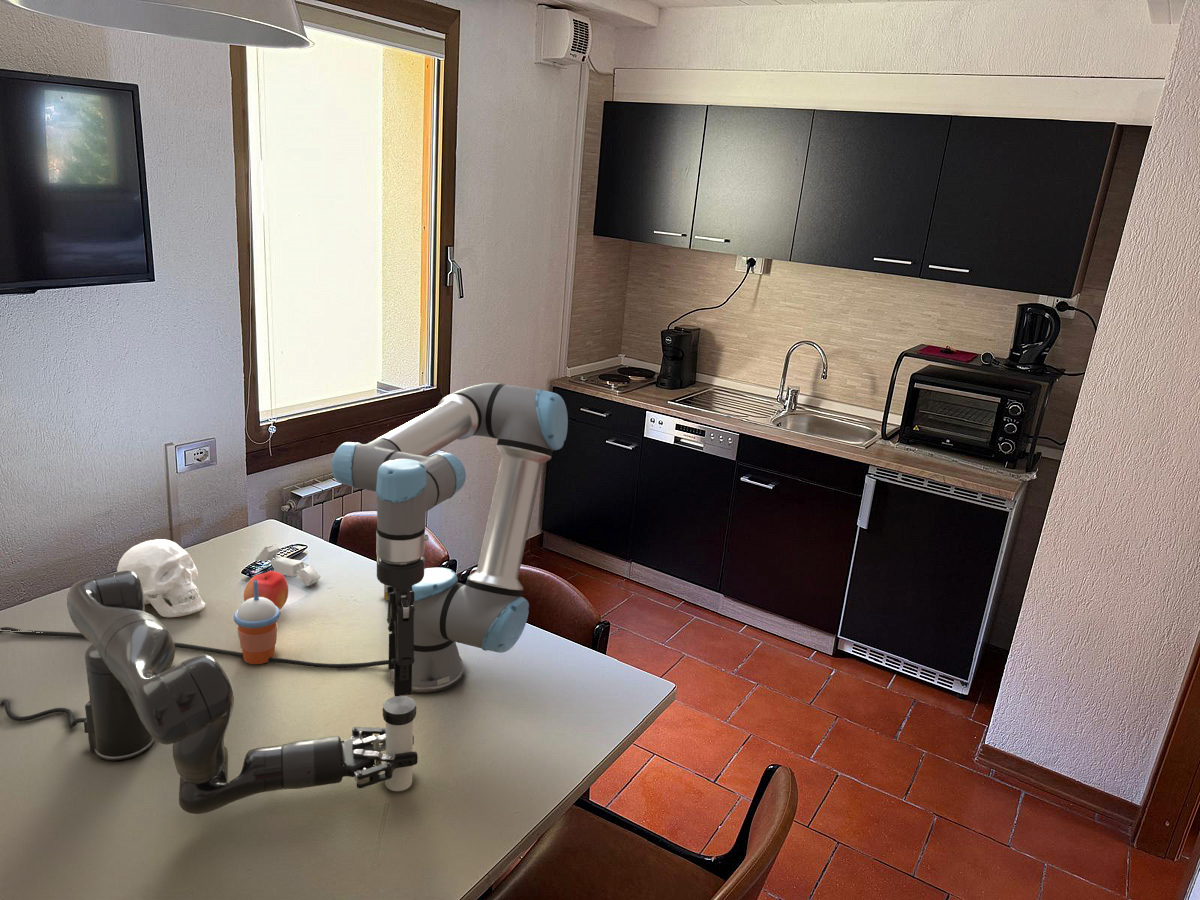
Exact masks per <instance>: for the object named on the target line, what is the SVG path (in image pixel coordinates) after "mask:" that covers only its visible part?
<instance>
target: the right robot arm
mask: <svg viewBox="0 0 1200 900" xmlns="http://www.w3.org/2000/svg"><path fill="white" fill-rule="evenodd" d="M568 422H569V417H568V409H567V405H566V403H565V401H564V399H563V397H562V396H561V395H560V394H558V393H556V392H553V391H548V390H545V389H541V388H533V387H525V386H518V385H512V384H505V383H502V382H501V383H500V382H485V383H479V384H475V385H471V386H467V387H464V388H461V389H459V390H456V391H454V392H452V393H450V394H448V395H446V396H444V397H442V399H440V401H439V402H438V404H437V406H436V407H434V408H432V409H430V410H428V411H426V412H425V413H424V412H423V414H420V415H419V416H416V417H415V418H413V419H411V420H409V421H408V422H405V423H404V424H402V425H400V426H398V427H396V428H394V429H392V430H390V431H388V432H387V433H384V434H383V435H381V436H379V437H376V439H374V440H372V441H369V442H368V443H361V442H360V441H359V442H358V441H357V442H356V441H355V442H352V441H346V442H343V443H341V444H340V445H339V446H338V447H337V448H336V450H335V451H334V453H333V455H332V456H333V457H332V460H331V467H332V468H331V473H332V476H333V478H334V480H335V481H336V482H337V483H339V484H341V485H344V486H348V487H352V488H353V489H361V490H366V491H371V492H375V495H376V516H377V517H376V522H377V523H376V525H377V526H376V531H375V532H376V533H375V535H376V536H375V538H376V541H375V543H376V544H375V545H376V546H375V548H376V549H375V550H376V552H375V553H376V579H377V581H378V582H379V583H380V584H383V586H384V585H387V595H388V600H387V618H386V622H387V624H388V627H387V630H388V632H389V633H388V659H383V660H376V661H368V662H354V663H353V662H352V663H323V662H312V661H304V660H296V659H288V658H282V657H275V656H274V657H270V658H269V659H268V662H272V663H279V664H285V665H295V666H302V667H309V668H319V669H356V668H357V669H359V668H370V667H371V668H372V667H377V666H385V665H387V666H388V670H389V679H390V681H391V682H392V683H393V695H394V697H395V696H410V695H413V694H412V693H416V694H430V693H431V694H432V693H438V692H441V691H445V690H447V689H450V688H451V687H453V686H455V685H456V684H457V683H458V682H459V681H460V680H461V679H462V676H463V672H464V664H463V660H462V657H461V656H460V653H459V649H458V646H457V643H458V644H462V645H467V646H470V647H473V648H478V649H481V650H482V651H485V652H486V651H490V652H494V653H499V654H503V653H506V652H509V651H510V650H511V649H512V648H513V647H514V646H515V645H516V644H517V642H518V641H519V639H520V637H521V635H522V634H523V631H524V629H525V627H526V625H527V621H528V617H529V612H530V611H529V609H530V604H529V601H528V600H527V599H526V598H525V597H523V592H524V586H523V585H522V584H521V581H520V580H519V575H520V571H521V565H522V561H523V557H524V552H525V547H526V544H527V543H526V542H527V539H528V533H529V529H530V524H531V520H532V514H533V511H534V505H535V500H536V496H537V493H538V492H537V491H538V486H539V482H540V477H541V474H542V468H543V465H544V464H546V463H547V462H548V461H550V460H551V459H552V457H553V456H552V455H553V452H554V451H557V450H560V449H562V448H563V447H564V444H565V442H566V439H567V435H568V429H569V428H568V425H569V423H568ZM473 436H475V437H485V438H492V439H495V440H497V442H496V445H495V446H496V449H497V450H498V452H499V453H500V456H501V458H500V462H499V467H498V472H497V475H496V476H497V477H496V480H495V485H494V490H493V494H492V498H491V503H490V508H489V512H488V518H487V522H486V527H485V530H484V535H483V541H482V544H481V549H480V554H479V557H478V563H477V568H476V570H475V571H474V572H472V573H470V574H469V575H468V576H467V579H466V582H465V583H461V582H458V580H459V579H458V575H457V573H456V572H455V571H454V570H453V569H450V568H448V567H447V568H446V567H427V568H426V567H425V566H426V557H425V553H426V551H425V550H426V547H425V546H426V545H425V544H426V543H425V542H427V541H429V538H430V537H429V535H428V534H426V516H427V515H426V514H427V512H428V511H430V510H432V509H433V508H435V507H436V506H438V505H440V504H441V503H443V502H445V501H447V500H449V499H451V498H453V496H454V495H455V494H457V493H458V492H459V491H460V490H461V489H462V488H463V487H464V485H465V482H466V478H467V475H466V468H465V466H464V463H463V462H462V461H461V460H460V458H459V457H458V456H456V455H455V454H453V453H450V452H440V453H437V452H438V451H440V450H442V449H443V448H445V447H446V446H448V445H450V444H451V443H453V442H455V441H456V440H458V441H459V440H461V441H462V440H467V439H469V438H471V437H473ZM377 556H378V558H377ZM0 629H1V630H11V631H18V630H19V631H20V630H21V629H19V628H16V627H10V626H3V627H0ZM31 631H32V632H12V633H14V634H18V635H23V636H43V637H44V636H45V637H67V638H83V639H87V638H86V637H85V636H84V635H82V634H81V633H80V632H74V631H73V632H72V631H71V632H69V631H50V630H31ZM33 631H34V632H33ZM3 632H7V633H8V632H9V633H11V632H10V631H0V634H1V633H3ZM36 632H40V633H36ZM41 632H43V633H41ZM174 642H175V641H174ZM175 648H180V649H186V650H193V651H201V652H206V653H213V654H218V655H219V654H220V655H225V656H232V657H239V658H243V652H242V651H241V652H240V651H234V650H228V649H220V648H215V647H209V646H203V645H202V646H201V645H195V644H189V643H183V642H175Z"/></svg>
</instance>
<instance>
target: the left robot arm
mask: <svg viewBox="0 0 1200 900" xmlns="http://www.w3.org/2000/svg"><path fill="white" fill-rule="evenodd" d="M66 607H67V611H68V615H69V617H70V619H71V621H72V623H73V625H74V627H75V628H76V629H77V631H78V633H81V634H82V635H84V636H85V637H86V638H85V639H86V640H88V641H89V642H90V644H89V645H88V647H87V648H86V650H85V653H84V662H85V670H86V678H87V686H88V687H87V688H88V696H89V701H88V702H87V703H85V704H84V710H85V717H79V718H74V713H73V712H72V709H69V708H67V707H55V708H50V709H47V710H43V711H39V712H37V713H34V714H30V715H25V716H18V715H15V714H14V713H13V711H12V710H11V705H10V701H9V699H6V698H5V699H3V700H2V701H1V702H0V705H1V706H2V705H3V706H4V710H5V713H6V715H7V716H8V718H10V719H11V720H13V721H17V722H26V721H31V720H35V719H38V718H41V717H44V716H48V715H51V714H56V713H65V714H67V716H68V725H69V726H70V727H71V728H75V727H76V726H77V724H81V723H83V728H84V733H85V734H87V736H88V744H89V751H90V753H91V752H93V753H95V755H96V756H97V757H98V758H99V759H102V760H105V761H113V762H114V761H115V762H116V761H124V760H129V759H131V758H135V757H137V756H139V755H141V754H143V753H145V752H146V751H148V750H149V749H150V748H151V747H152V746H153V744H154V742H155V741H156V742H157V743H159V744H162V745H172V744H173V745H172V758H173V762H174V766H175V769H176V773H177V774H178V775H179V789H178V805H179V807H180V808H181V809H182V811H184V812H186V813H188V814H192V815H202V814H203V815H204V814H207V813H210V812H213V811H216V810H218V809H220V808H223V807H225V806H227V805H229V804H232V803H234V802H236V801H240V800H242V799H245V798H248V797H250V796H254V795H257V794H263V793H268V792H275V791H282V790H300V789H307V788H314V787H320V786H326V785H333V784H339V783H341V782H342V780H343V778H344V777H345V778H346V777H349V778H354V779H355V780H356V788H357V789H363V788H367V787H370V786H372V785H375V784H378V783H381V782H384V781H386V780H387V779H390V778H392V773H393V771H394V770H395V769H396V768H401V767H408V766H412V767H413V766H416V765H417V764H418V762H419V761H418V759H419V758H418V757H419V755H418V752H417V751H414V750H413V752H407V753H401V754H395V756H394V755H386V753H385V754H384V753H382V752H384V751H386V727H380V726H379V727H375V726H374V727H373V726H353V727H352V729H351V736H350V738H346V739H343V740H342V739H341V737H340V736H339V735H334V736H327V737H326V736H325V737H319V738H313V739H304V740H298V741H293V742H289V743H285V744H278V745H272V746H264V747H257V748H252V749H249V750H248V751H247V752H246V754H245V756H244V759H243V763H242V766H241V767H242V768H241V770H240V773H239V774H238V776H236V777H234V778H233V779H232V780H230V781H228V778H229V777H228V775H229V751H228V748H227V746H226V745H225V736H226V732H227V729H228V726H229V723H230V720H231V717H232V715H233V710H234V707H235V706H234V705H235V697H234V691H233V690H234V689H233V687H232V685H231V682H230V679H229V677H228V675H227V673H226V672H225V669H224V668H223V666H222V665H221V664H220V663H219V661H218V660H217V659H216V658H214V657H213V656H211V655H209V654H199V655H196V656H192V657H191V658H188V659H186V660H184V661H182V662H180V663H179V664H176V665H174V666H172V665H173V662H174V660H175V656H176V655H175V654H176V647H175V639H174V636H173V635H172V632H170V631H169V629H168V628H167V626H165V625H164V624H163V622H161V620H160V619H159V618H157V617H156V616H154V615H153V614H151V613H149V612H146V611H145V610H146V609H145V608H146V607H145V606H144V593H143V587H142V584H141V581H140V579H139V577H138V576H137V574H136V573H134V572H133V571H129V570H127V571H121V572H117V571H116V572H112V573H111V572H110V573H106V574H102V575H98V576H97V575H96V576H92V577H88V578H84V579H81V580H79V581H77V582H75V583H73V585H72V586H71V587H70V588H69V590H68V592H67V595H66ZM377 735H378V736H377ZM414 744H415V736H414V735H413V745H414ZM386 761H387V763H386ZM382 762H384V763H382ZM381 772H384V773H381ZM380 773H381V774H380Z"/></svg>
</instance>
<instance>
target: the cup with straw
mask: <svg viewBox="0 0 1200 900" xmlns="http://www.w3.org/2000/svg"><path fill="white" fill-rule="evenodd" d="M253 585H254V597H253V598H250V599H248V600H246V601H243V602H242V603H241V605H240V606H239V607H238V609H237V610H236V611H235V612H234V615H233V621H234V623H235V625H237V634H238V639H239V646H240V648H241V653H243V657H242V658H243V660H244V662H245V663H246V664H247V663H248V664H250V665H262V664H265V663H268V662H269V661H268V659H269V658H270V657H274V658H275V655H276V654H275V652H276V644H277V636H278V620H279V619H280V617H281V610H279V608H278V607H277V606H275V605H274V603H273V602H272V601H270V600H269V599H267V598H264V597H259V594H258V580H254V581H253Z"/></svg>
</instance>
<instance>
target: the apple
mask: <svg viewBox="0 0 1200 900" xmlns="http://www.w3.org/2000/svg"><path fill="white" fill-rule="evenodd" d="M254 580H258V594H259V597H264V598H267V599H269V600H270V601H272V602H273V603H274V605H275V606H277V607H278V608H279V610H280V611H281V610H282V609H283V607H284V606H285V605H286V603H287V600H288V597H289V584H288V581H287V579H286V577H285V575H282V574H281V573H278V572H275V571H268V570H267V571H266V572H264V573H259V574H255V575H254V576H253V577H251V578H250V579H249V580H248V582H247V583H246V585H245V587H244V590H243V602H245V601H246V600H248V599H250V598H253V597H254V585H253V581H254Z"/></svg>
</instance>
